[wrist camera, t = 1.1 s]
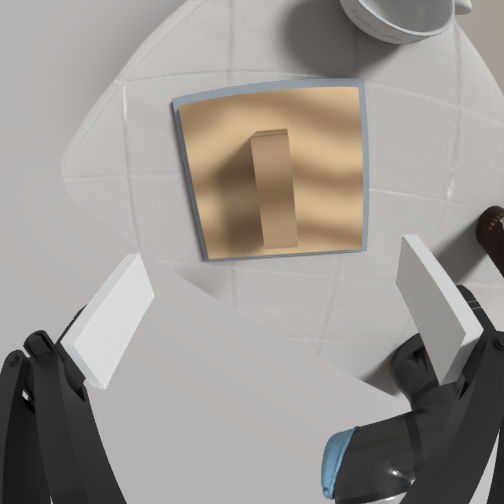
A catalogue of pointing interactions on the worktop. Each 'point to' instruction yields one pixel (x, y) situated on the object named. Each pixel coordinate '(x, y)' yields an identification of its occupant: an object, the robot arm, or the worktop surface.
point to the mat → (269, 87)
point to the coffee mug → (492, 235)
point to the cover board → (311, 167)
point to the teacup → (404, 17)
